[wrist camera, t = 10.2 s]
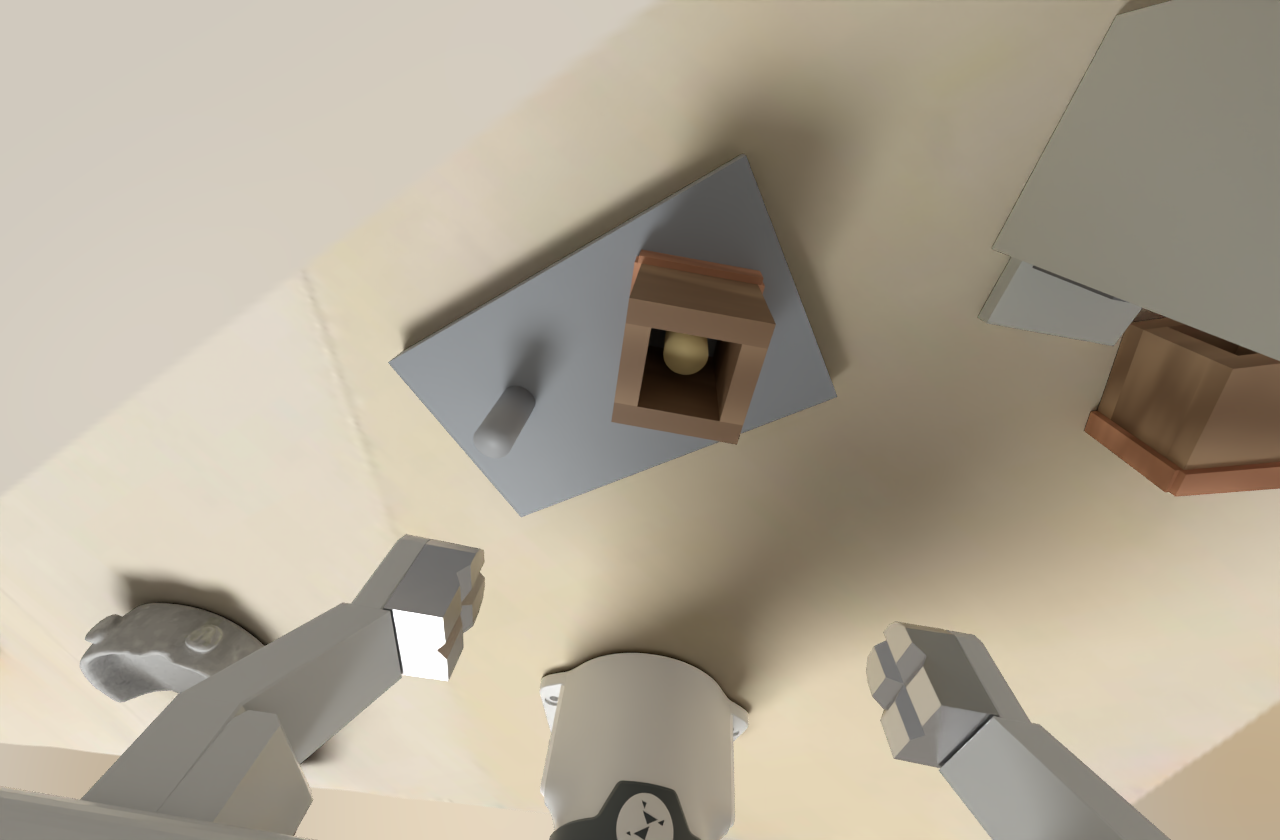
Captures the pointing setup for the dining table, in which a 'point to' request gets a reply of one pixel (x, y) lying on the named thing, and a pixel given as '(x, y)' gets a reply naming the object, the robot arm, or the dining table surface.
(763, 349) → the sleeve
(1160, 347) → the sleeve
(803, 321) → the pin board
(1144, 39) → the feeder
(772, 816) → the dining table surface
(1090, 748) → the dining table surface
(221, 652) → the dish
